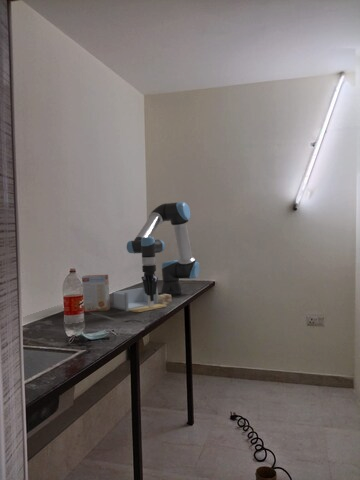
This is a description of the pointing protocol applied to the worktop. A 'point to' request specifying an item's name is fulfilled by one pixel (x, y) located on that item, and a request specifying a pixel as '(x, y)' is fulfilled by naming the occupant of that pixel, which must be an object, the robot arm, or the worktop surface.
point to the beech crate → (164, 299)
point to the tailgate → (148, 308)
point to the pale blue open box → (132, 299)
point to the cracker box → (96, 293)
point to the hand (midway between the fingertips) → (151, 306)
